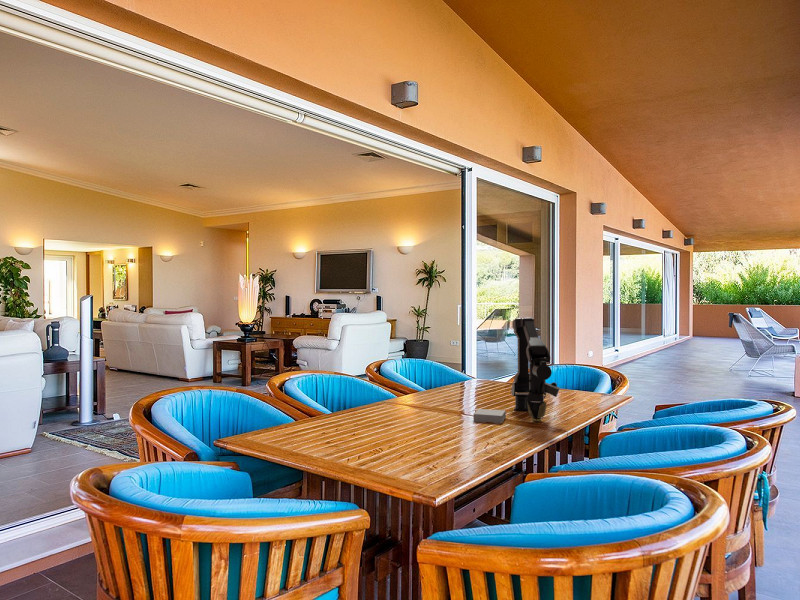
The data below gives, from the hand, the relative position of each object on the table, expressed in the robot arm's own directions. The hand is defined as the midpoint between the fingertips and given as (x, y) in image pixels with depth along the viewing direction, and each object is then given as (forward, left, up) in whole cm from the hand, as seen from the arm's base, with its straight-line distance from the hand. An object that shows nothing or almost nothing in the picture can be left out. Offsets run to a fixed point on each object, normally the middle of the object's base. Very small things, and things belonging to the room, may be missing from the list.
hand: (536, 416), depth 223 cm
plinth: (+2, -18, -2) cm, 18 cm away
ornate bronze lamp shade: (0, 0, -2) cm, 2 cm away
